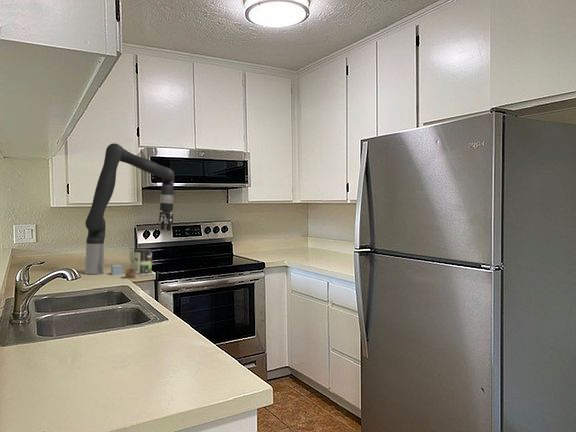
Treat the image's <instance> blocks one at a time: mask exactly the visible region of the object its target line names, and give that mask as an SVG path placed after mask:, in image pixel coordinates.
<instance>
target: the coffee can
mask: <svg viewBox="0 0 576 432" xmlns="http://www.w3.org/2000/svg"><path fill="white" fill-rule="evenodd" d="M152 261H153V249H151V248H136V249H133V268H136V274H135V276H147V275H151V274H153V273H152V271H153V270H152V269H153V268H152V266H153V262H152Z"/></svg>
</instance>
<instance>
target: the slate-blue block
mask: <svg viewBox="0 0 576 432" xmlns="http://www.w3.org/2000/svg"><path fill="white" fill-rule="evenodd" d="M110 274H111V275H112V276H120V275H123V265H121V264H113V265H111V266H110Z"/></svg>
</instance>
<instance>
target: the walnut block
mask: <svg viewBox="0 0 576 432" xmlns="http://www.w3.org/2000/svg"><path fill="white" fill-rule="evenodd" d="M124 271H125V276H124V277H125V279H136V275H135V274H136V268H134V267H125V270H124Z"/></svg>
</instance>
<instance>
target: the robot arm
mask: <svg viewBox="0 0 576 432" xmlns="http://www.w3.org/2000/svg"><path fill="white" fill-rule="evenodd" d="M104 154H105V155H104V161H103V164H102V165H103V166H102V168H101V171H100V174H99V176H98V177H99V178H98V180H97V183H96V187H95V190H94V194H93V200H92V203H91V207H90V210H89V211H88V212H89V213H88V214H87V218H86V219H85V227H86V229H87V232H88V233H87V237H86V240H85V241H86V243H85V246H86V247H85V257H84V260H85V261H84V275H102V274H104V259H105V256H104V255H105V253H104V252H105V239H106V219H105V218H104V215H105V211H106V208H107V206H108V205H109V203H110V200H111V198H112V196H113V194H114V189H115V187H116V179H117V170H118V166H119V163H120V162H121V163H125V164H129V165H130V166H133V167H136V168H137V169H139V170H142V171H144V172H145V173H148V174H150V175H152V176H153V175H154V176H156V177H158V178H161V179H162V182H161V189H160V198H159V199H160V200H159V210H160V211H159V213H158V222H159V223H160V230H165V226H166V231H171V229H172V227H171V226H172V224H174V213H173V212H172V211H174V201H175V199H174V192H175V191H174V190H175V189H174V185H175V184H174V183H175V172H174V171H173V170H172V169H171V168H170V167H167V166H164V165H161V164H158V163H156V162H155V161H153V160H149V159H147V158H146V157H145V158H144V157H143V156H142V157H141V156H139V155H137V154H134V153H131V152H130V151H128V150H126V149H125V148H123V146H121V145H120V144H118V143H115V142H113V143H110V144H109V145H108V146H107V147H106V149H105V153H104ZM165 224H166V225H165Z"/></svg>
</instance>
